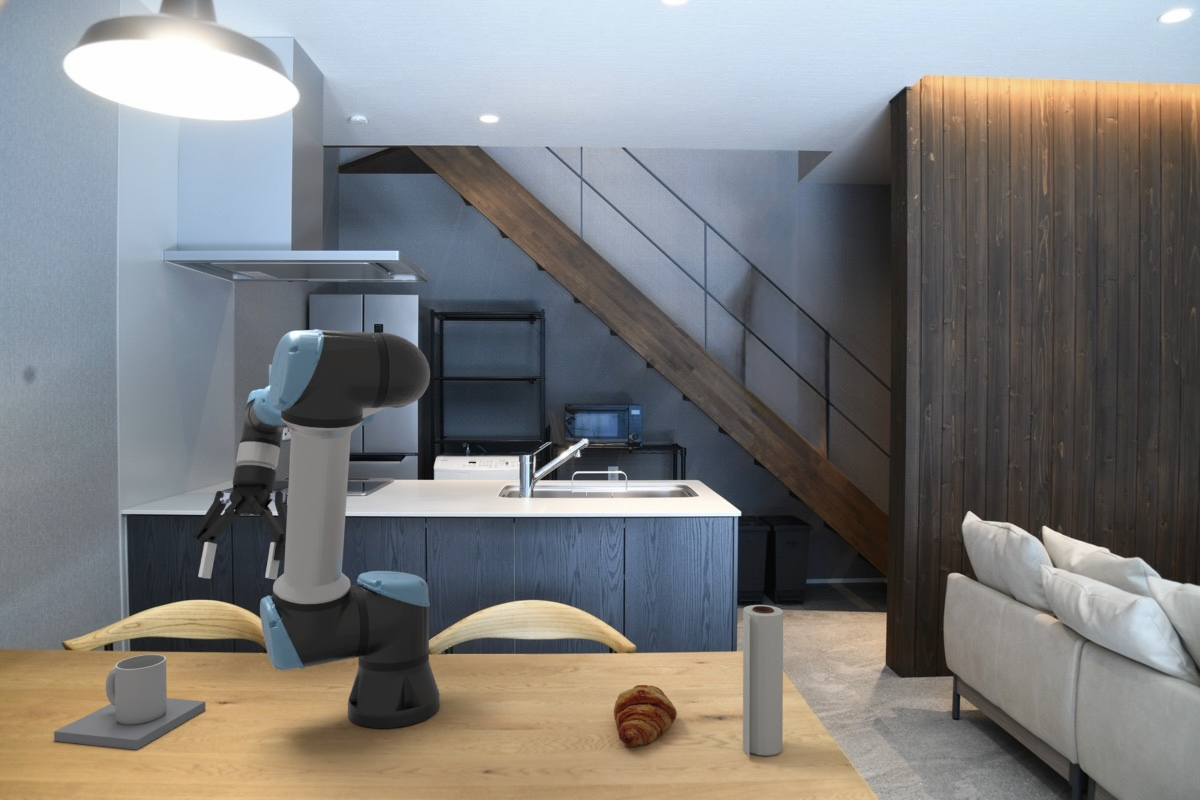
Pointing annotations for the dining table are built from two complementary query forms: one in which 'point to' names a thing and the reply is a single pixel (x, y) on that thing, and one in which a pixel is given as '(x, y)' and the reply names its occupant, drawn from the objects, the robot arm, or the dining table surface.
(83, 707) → the dining table surface
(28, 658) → the dining table surface
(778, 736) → the paper towel roll
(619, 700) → the croissant
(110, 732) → the slate tile
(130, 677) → the cup
